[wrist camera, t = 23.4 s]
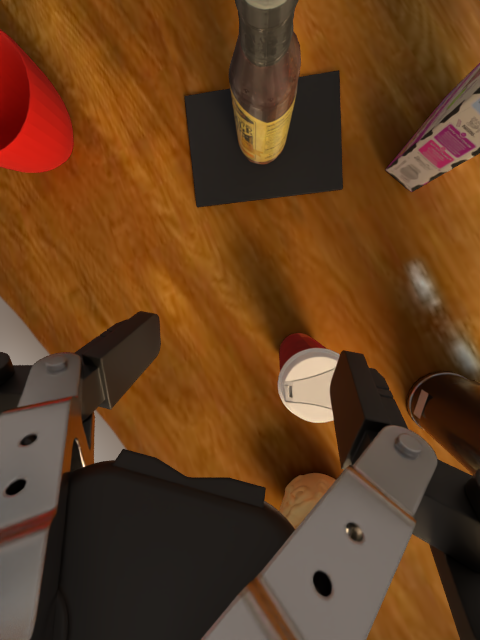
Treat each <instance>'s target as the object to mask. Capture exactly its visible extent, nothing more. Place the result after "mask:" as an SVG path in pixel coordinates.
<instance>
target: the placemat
mask: <svg viewBox="0 0 480 640" xmlns="http://www.w3.org/2000/svg"><path fill="white" fill-rule="evenodd" d="M297 83H298V84H297V93H296V97H295V102H294V107H293V111H292V115H291V120H290V125H289V129H288V134H287V139H286V142H285V145H284V148H283V150H282V152H281V153H280V154H279V155H278V156H277V158H276V159H274V160H273V161H271V162H270V163H268V164H257V163H253V162H251V161H249V160H248V159H247V157H246V156H245V155H244V153H243V152H242V150H241V148H240V146H239V142H238V136H237V130H236V123H235V118H234V111H233V104H232V97H231V91H230V89H225V90H219V91H213V92H207V93H201V94H195V95H189V96H185V105H186V114H187V123H188V132H189V142H190V151H191V160H192V169H193V178H194V187H195V196H196V205H197V207H204V206H212V205H220V204H228V203H236V202H245V201H253V200H261V199H269V198H277V197H285V196H294V195H302V194H310V193H318V192H326V191H334V190H342V189H343V178H342V144H341V111H340V77H339V71H333V72H327V73H321V74H315V75H309V76H303V77H299V78H298V82H297Z"/></svg>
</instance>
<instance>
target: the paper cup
mask: <svg viewBox="0 0 480 640" xmlns="http://www.w3.org/2000/svg"><path fill="white" fill-rule="evenodd" d="M339 356H340V355H339V354H338V353H336V352H334V351H331V350H328V349H326V348H325V347H324V346H322V345H321V344H320V343H318V342H317V341H316V340H314V339H313V338H311V337H310V336H308V335H306V334H302V333H295V334H291V335H289V336H288V337H286V338H285V339H284V340H283V342H282V343H281V346H280V351H279V358H280V374H279V378H278V391H279V395H280V398H281V400H282V402H283V404H284V405H285V406H286V408H287V409H288V410H289V411H291V412H292V413H293V414H295V415H296V416H298V417H300V418H301V419H303V420H306V421H309V422H314V423H324V422H329V421H332V420H334V419H333V412H332V406H331V400H330V383H331V379H332V377H333V374H334V371H335V368H336V365H337V362H338V359H339Z"/></svg>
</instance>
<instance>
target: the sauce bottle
mask: <svg viewBox="0 0 480 640" xmlns="http://www.w3.org/2000/svg"><path fill="white" fill-rule="evenodd" d="M235 3H236V7H237V9H238V16H239V35H238V39H237V43H236V46H235V50H234V53H233V57H232V60H231V64H230V68H229V83H230V91H231V97H232V104H233V111H234V118H235V123H236V130H237V136H238V142H239V146H240V148H241V150H242V152H243V153H244V155H245V156H246V157H247V159H248V160H249V161H251V162H253V163H257V164H268V163H270V162H271V161H273V160H274V159H276V158H277V156H278V155H279V154H280V153H281V152H282V150H283V148H284V145H285V142H286V139H287V134H288V129H289V125H290V120H291V115H292V111H293V107H294V102H295V97H296V93H297V84H298V83H297V82H298V78H299V73H300V66H301V56H300V44H299V42H298V39H297V36H296V34H295V33H294V31H293V18H294V11H295V7H296V5H297V3H298V0H235Z"/></svg>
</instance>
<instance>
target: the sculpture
mask: <svg viewBox="0 0 480 640" xmlns="http://www.w3.org/2000/svg"><path fill="white" fill-rule="evenodd" d="M335 481H336V480H335V479H334V478H332V477H330V476H328V475H325V474H321V473H309V474H306V475H299V476H297V477H296V478H294V479H293V480H292V481H291V482H290V483H289V484H288V485H287V487H286V488H285V495H284V498H283V500H282V503H281V507H280V511H279V512H280V513H281V514H282V515H283V516H284V517H285V518H286V519H288V521H289V522H290V523H291V524H292V525H293V527H294V528H295V529H296V528H297V527H298V526H299V525H300V523H301V522H302V521H303V520H304V519H305V517H306V516H307V515H308V514H309V512H310V511H311V510H312V509H313V508H314V506H315V505H316V504H317V503H318V501H319V500H320V499H321V498H322V497H323V495H324V494H325V493H326V492H327V490H328V489H329V488H330V487H331V486H332V484H333V483H334V482H335Z"/></svg>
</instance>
